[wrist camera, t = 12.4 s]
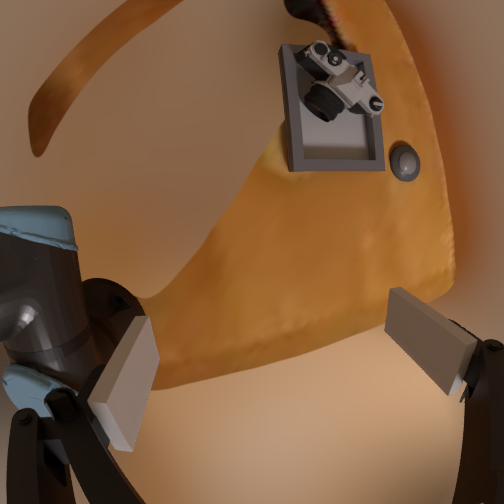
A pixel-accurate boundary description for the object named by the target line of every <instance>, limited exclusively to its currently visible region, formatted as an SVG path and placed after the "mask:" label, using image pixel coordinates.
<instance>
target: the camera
mask: <svg viewBox="0 0 504 504" xmlns="http://www.w3.org/2000/svg"><path fill="white" fill-rule="evenodd" d="M346 59H347V57H346V56H345V55H344V54H343V53H342V52H341V51H339V50H338V49H337V48H335V47H333V46H331V45H328V44H327V43H326V42H324V41H319V40H317V41H315V42H313V43H312V44H311V45H308V46H307V47H305V48H304V49H302V50H301V51H300V52H298V55H297V56H296V57H295V61H296V63H297V65H299V66H300V67H301V68H302V69H303V70H305V71H306V72H307V73H308V74H309V75H310V76H312V77H313V78H314V79H315V80H314V82H312V81H311V84H312V87H311V88H310V92H308V93H307V94H306V95H305V96H304V101H303V104H304V105H305V107H306V108H307V109H308V110H309V111H310V112H311V113H312V114H314V115H315V116H316V117H318V118H319V119H321V120H323V121H325V122H329V121H330V120H331V121H333V120H334V119H335V118H336V117H337V114H339V113H342V112H343V110H345V109H347V111H348V112H350V113H353V114H357V115H358V114H366V115H368V116H370V117H371V118H372V117H373V115H379V114H380V113H381V111H382V110H383V109H384V108H385V107H384V103H383V99H382V98H381V97H380V96H379V95H378V94H377V93H376V91H375V90H374V89H373V88H372V87H371V86H370V85H369V84H368V82H369V81H370V80H369V79H368V78H367V77H366V76H365V75H364V74H363V72H362V71H360V70H359V69H358V68H354V67H352V66H351V65H350V64H349V63H348V62H347V61H346Z"/></svg>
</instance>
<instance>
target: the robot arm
mask: <svg viewBox="0 0 504 504" xmlns="http://www.w3.org/2000/svg"><path fill="white" fill-rule="evenodd" d="M77 251H78V247H77V245H76V243H75V237H74V231H73V225H72V219H71V216H70V214H69V213H68V211H67V210H65V209H64V208H62V207H59V206H10V207H0V342H3V344H4V347H5V349H6V352H7V354H8V356H9V359H10V365H7V366H6V367H5V369H4V373H3V378H2V382H3V386H4V389H5V391H6V393H7V395H8V396H9V398H10V399H11V401H12V402H13V403H14V404H15V406H16V407H17V408H18V409H19V411H17V412H16V413H15V414H14V416H13V418H12V423H11V429H10V437H9V446H8V458H7V481H6V482H7V483H6V487H7V489H6V490H7V504H76V502H75V497H74V492H73V486H72V480H71V475H70V467H69V464H71V467H72V469H73V471H74V473H75V475H76V478H77V480H78V482H79V484H80V486H81V488H82V490H83V492H84V494H85V496H86V498H87V499H88V501H89V503H90V504H146V503H145V502H144V500H143V499H142V498H141V497H140V495H139V494H138V493H137V491H136V490H135V489H134V487H133V486H132V485H131V483H130V482H129V480H128V479H127V477H126V476H125V475H124V473H123V472H122V470H121V469H120V467H119V466H118V464H117V463H116V461H115V459H114V458H113V456H112V455H111V453H110V452H109V450H108V449H107V448H108V446H109V442H111V444H112V445H113V446H114V448H115V449H116V450H121V451H129V452H133V450H134V446H135V443H136V439H137V435H138V431H139V428H140V424H141V421H142V417H143V414H144V410H145V407H146V403H147V400H148V396H149V393H150V390H151V387H152V383H153V380H154V377H155V374H156V371H157V367H158V364H159V361H160V357H159V354H158V350H157V346H156V342H155V338H154V334H153V330H152V326H151V322H150V318H149V316H145V313H144V311H143V309H142V307H141V305H140V304H139V302H138V301H137V300H136V298H135V297H134V296H133V295H132V294H131V293H130V292H129V291H128V290H127V289H125V288H124V287H122V286H121V285H119V284H118V283H115V282H113V281H111V280H107V279H102V278H92V279H88V280H85V281H83V282H82V281H81V276H80V269H79V262H78V254H77ZM384 331H385V332H386V333H387V334H388V335H389V336H390V337H391V338H392V339H393V340H394V341H395V342H396V343H397V344H398V345H399V346H400V347H401V348H402V349H403V350H404V351H405V352H406V353H407V354H408V355H409V356H410V357H411V358H412V359H413V360H414V361H415V362H416V363H417V364H418V365H419V366H420V367H421V368H422V369H423V370H424V371H425V373H426V374H428V376H429V377H430V378H431V379H432V380H433V381H434V382H435V383H436V384H437V385H438V386H439V387H440V388H441V389H442V390H443V391H444V392H445V393H446V395H447V396H449V395H451V394H453V393H455V392H457V391H458V390H459V389H460V387H461V384H462V382H463V380H464V381H465V382H466V383H467V386H466V388H465V390H464V392H463V395H462V397H461V399H460V402H462V400H463V399H464V398H465V402H464V403H465V415H464V431H463V442H462V451H461V459H460V466H459V472H458V478H457V483H456V488H455V493H454V497H453V501H452V504H504V345H503V344H502V343H501V342H499V341H497V340H493V339H488V340H485V341H484V342H483V341H482V340H480V339H479V338H478V337H476V336H475V335H473V334H472V333H471V332H469V331H466V329H465V328H464V327H461V325H459V324H458V323H456V322H455V321H453V320H450V319H447V318H446V317H444V316H443V315H441V314H440V313H438V312H437V311H436V310H434V309H433V308H431V307H430V306H428V305H427V304H425V303H424V302H422V301H421V300H419V299H418V298H416V297H415V296H413V295H412V294H410V293H409V292H407V291H406V290H404V289H403V288H401V287H397V288H391V289H390V291H389V300H388V308H387V316H386V323H385V330H384Z"/></svg>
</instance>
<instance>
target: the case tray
mask: <svg viewBox="0 0 504 504" xmlns="http://www.w3.org/2000/svg"><path fill="white" fill-rule="evenodd" d="M305 47H307V46H304V45H289V44H288V45H287V44H282V45H281V47H280V49H279V52H278V56H279V64H280V73H281V81H282V82H281V83H282V92H283V103H284V113H285V125H286V137H287V150H288V164H289V172H298V171H385V161H384V147H383V136H382V126H381V118H380V114H379V115H373V117H372V118H371V117H370V116H368V115H366V114H358V115H357V114H353V113H350V112H348V111H347V109H345V110H343V112H342V113H339V114H337V117H336V118H335V119H334V120H333V121H331V120H330V121H329V122H325V121H323V120H321V119H319V118H318V117H316V116H315V115H314V114H312V113H311V112H310V111H309V110H308V109H307V108H306V107H305V105H304V104H303V101H304V96H305V95H306V94H307V93H308V92H310V88H311V87H312V84H311V81H312V82H314V80H315V79H314V78H313V77H312V76H310V75H309V74H308V73H307V72H306V71H305V70H303V69H302V68H301V67H300V66H299V65H297V63H296V61H295V57H296V56H297V55H298V52H300V51H301V50H302V49H304V48H305ZM338 50H339V51H341V52H342V53H343V54H344V55H345V56H346V57H347V59H346V61H347V62H348V63H349V64H350V65H351V66H352V67H354V68H358V69H359V70H360V71H362V72H363V74H364V75H365V76H366V77H367V78H368V79H369V80H370V81H369V82H368V84H369V85H370V86H371V87H372V88H373V89H374V90H375V91H376V93H377V89H376V83H375V77H374V72H373V67H372V62H371V57H370V55H369V54H364V53H358V52H353V51H346V50H340V49H338Z"/></svg>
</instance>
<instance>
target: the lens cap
mask: <svg viewBox="0 0 504 504" xmlns="http://www.w3.org/2000/svg"><path fill="white" fill-rule="evenodd" d="M390 167H391V170H392V172H393V174H394V175H395V177H396V178H398V179H399V180H401V181H407V182H409V181H413V180H414V179H415V178H416V177H417V176H418V174H419V171H420V160H419V157H418V155H417V153H416V151H415V150H414V149H413V148H411V147H410V146H406V145H403V146H398V147H396V148H395V149H394V150H393V151H392V153H391V156H390Z"/></svg>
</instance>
